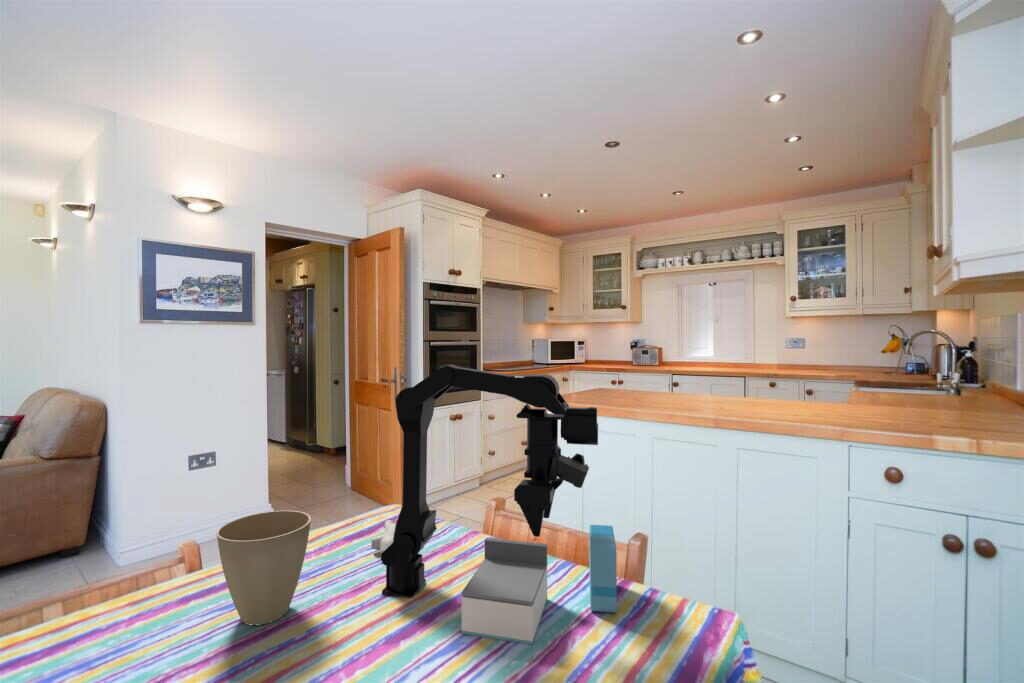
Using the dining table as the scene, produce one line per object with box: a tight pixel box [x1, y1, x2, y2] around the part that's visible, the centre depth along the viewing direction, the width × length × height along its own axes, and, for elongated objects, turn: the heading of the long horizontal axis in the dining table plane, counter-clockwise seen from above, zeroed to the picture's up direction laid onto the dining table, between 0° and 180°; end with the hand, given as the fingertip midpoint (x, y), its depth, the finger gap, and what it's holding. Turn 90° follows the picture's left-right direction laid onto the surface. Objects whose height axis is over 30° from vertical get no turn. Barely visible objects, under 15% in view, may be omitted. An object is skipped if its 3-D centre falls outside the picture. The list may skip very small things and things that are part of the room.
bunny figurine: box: [371, 519, 396, 559], centre depth 112 cm, size 10×5×15 cm
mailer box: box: [461, 567, 548, 645], centre depth 84 cm, size 12×14×6 cm
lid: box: [461, 537, 548, 605], centre depth 84 cm, size 12×14×4 cm
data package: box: [588, 524, 618, 614], centre depth 89 cm, size 12×4×12 cm, turn 172°
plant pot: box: [216, 510, 312, 626], centre depth 84 cm, size 15×15×16 cm
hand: (541, 526), depth 88 cm, fingers open, 9 cm apart
